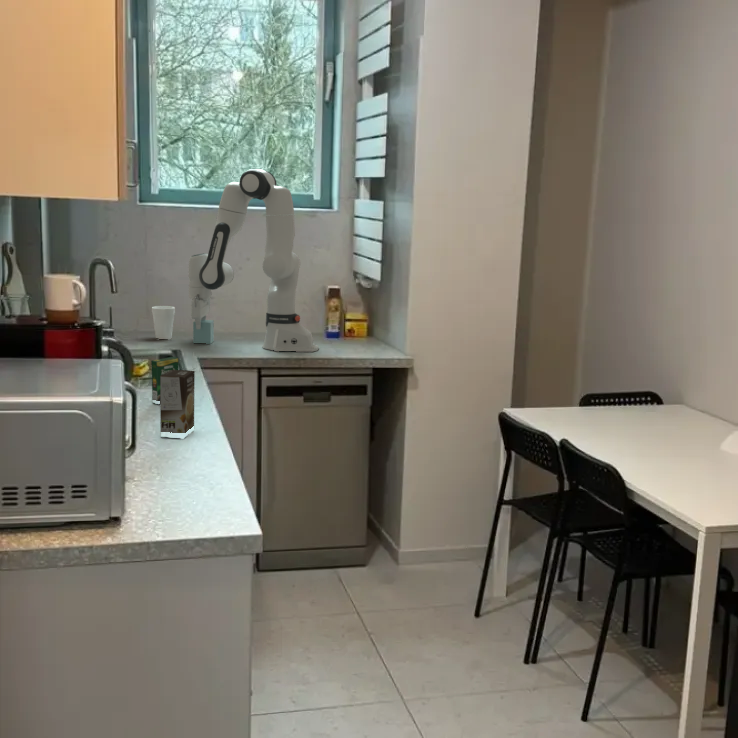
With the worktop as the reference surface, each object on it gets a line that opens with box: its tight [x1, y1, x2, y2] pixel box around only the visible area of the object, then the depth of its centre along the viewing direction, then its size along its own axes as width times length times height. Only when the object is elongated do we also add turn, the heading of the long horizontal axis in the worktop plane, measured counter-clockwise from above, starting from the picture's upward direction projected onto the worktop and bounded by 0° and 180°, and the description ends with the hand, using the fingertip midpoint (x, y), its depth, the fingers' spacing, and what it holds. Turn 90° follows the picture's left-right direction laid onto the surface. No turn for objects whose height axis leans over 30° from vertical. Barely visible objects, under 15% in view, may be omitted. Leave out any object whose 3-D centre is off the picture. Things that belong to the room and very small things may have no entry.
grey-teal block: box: [192, 319, 215, 345], centre depth 367 cm, size 7×7×9 cm
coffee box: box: [159, 369, 196, 433], centre depth 228 cm, size 9×6×16 cm
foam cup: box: [151, 305, 176, 340], centre depth 373 cm, size 10×9×13 cm
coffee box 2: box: [150, 356, 179, 401], centre depth 262 cm, size 8×3×13 cm, turn 139°
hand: (200, 327), depth 367 cm, fingers open, 8 cm apart
